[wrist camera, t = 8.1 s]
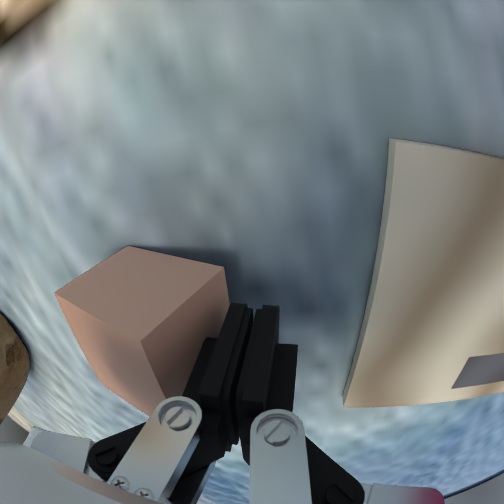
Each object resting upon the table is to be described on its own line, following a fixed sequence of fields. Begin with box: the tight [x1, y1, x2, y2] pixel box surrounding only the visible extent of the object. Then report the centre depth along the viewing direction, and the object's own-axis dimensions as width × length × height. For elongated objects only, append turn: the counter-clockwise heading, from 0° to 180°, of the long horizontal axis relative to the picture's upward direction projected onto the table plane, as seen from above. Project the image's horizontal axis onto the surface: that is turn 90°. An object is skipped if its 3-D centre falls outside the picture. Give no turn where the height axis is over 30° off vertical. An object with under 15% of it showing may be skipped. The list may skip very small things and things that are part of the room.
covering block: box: [54, 246, 230, 416], centre depth 11 cm, size 5×5×4 cm
